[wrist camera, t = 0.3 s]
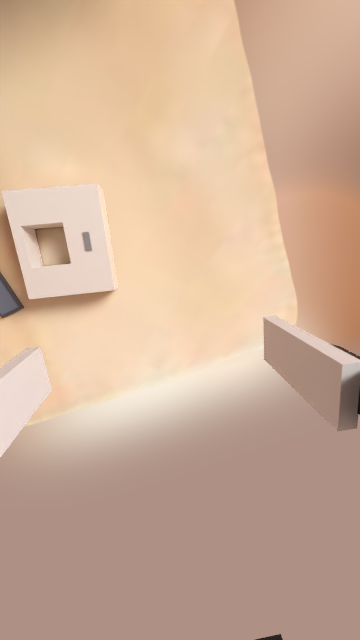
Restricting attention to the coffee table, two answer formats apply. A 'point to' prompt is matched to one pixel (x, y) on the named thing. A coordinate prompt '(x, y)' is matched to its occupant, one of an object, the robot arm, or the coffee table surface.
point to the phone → (8, 299)
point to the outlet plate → (81, 236)
